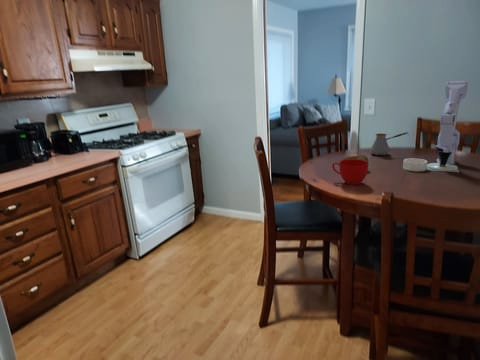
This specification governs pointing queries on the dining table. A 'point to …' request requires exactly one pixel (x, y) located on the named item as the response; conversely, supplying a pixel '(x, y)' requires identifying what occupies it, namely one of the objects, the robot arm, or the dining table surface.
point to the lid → (442, 167)
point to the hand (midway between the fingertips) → (442, 163)
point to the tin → (357, 157)
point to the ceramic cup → (352, 170)
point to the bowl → (414, 164)
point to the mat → (448, 171)
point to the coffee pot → (382, 144)
